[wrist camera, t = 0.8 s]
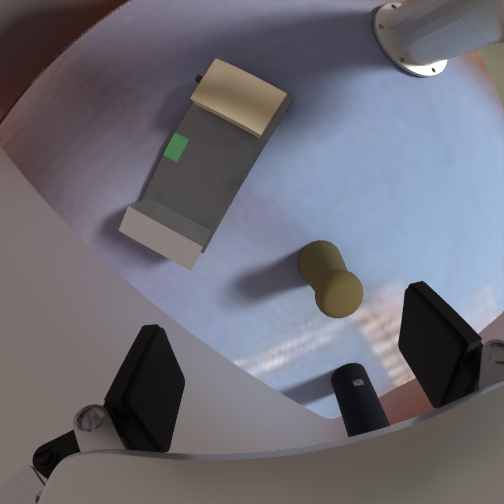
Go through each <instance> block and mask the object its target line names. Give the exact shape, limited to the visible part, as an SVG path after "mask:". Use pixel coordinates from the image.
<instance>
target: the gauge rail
mask: <svg viewBox="0 0 504 504" xmlns="http://www.w3.org/2000/svg"><path fill="white" fill-rule="evenodd" d="M220 60H221V59H220ZM222 61H223V60H222ZM224 62H226V61H224ZM226 63H228V62H226ZM228 64H230V63H228ZM230 65H232V64H230ZM233 66H234V65H233ZM235 67H236V66H235ZM237 68H239V67H237ZM239 69H241V68H239ZM241 70H243V69H241ZM243 71H245V70H243ZM245 72H247V71H245ZM247 73H249V72H247ZM249 74H251V73H249ZM251 75H253V74H251ZM253 76H255V75H253ZM255 77H257V76H255ZM257 78H259V77H257ZM259 79H261V78H259ZM261 80H263V79H261ZM263 81H265V80H263ZM265 82H266V81H265ZM267 83H268V82H267ZM269 84H270V83H269ZM270 85H272V84H270ZM272 86H274V85H272ZM274 87H276V86H274ZM276 88H277V87H276ZM278 89H279V88H278ZM280 90H281V89H280ZM281 91H283V90H281ZM283 92H285V91H283ZM285 93H286V92H285ZM294 98H295V97H293V96H292V95H290V94H288V93H287V95H286V96H285V98H284V99H283V101H282V102H281V104H280V106H279V107H278V109H277V110H276V112H275V114H274V115H273V117H272V118H271V120H270V122H269V123H268V125H267V126H266V128H265V130H264V131H263V133H262V135H261V136H260V138H258V137H257V136H255V135H253V134H251V133H249V132H248V131H246V130H244V129H242V128H240V127H238V126H236V125H235V124H233V123H231V122H229V121H227V120H225V119H223V118H221V117H219V116H217V115H215V114H213V113H211V112H209V111H207V110H205V109H203V108H201V107H199V106H198V105H197V104H195V103H194V102H192V104H191V106H190V107H189V109H188V111H187V112H186V114H185V116H184V118H183V119H182V121H181V123H180V125H179V127H178V128H177V130H176V132H175V133H174V135H173V137H172V139H171V141H170V142H169V144H168V146H167V148H166V150H165V152H164V154H163V157H162V159H161V161H160V163H159V165H158V167H157V169H156V171H155V173H154V175H153V177H152V179H151V181H150V183H149V186H148V188H147V190H146V192H145V194H144V197H143V199H142V200H140V201H138V202H136V203H134V204H132V205H129V206H128V208H127V210H126V213H125V215H124V218H123V220H122V223H121V226H120V228H119V231H120V232H122V233H123V234H125V235H127V236H129V237H130V238H132V239H134V240H136V241H138V242H139V243H141V244H143V245H145V246H146V247H148V248H150V249H152V250H154V251H155V252H157V253H159V254H161V255H163V256H165V257H166V258H168V259H170V260H172V261H174V262H176V263H177V264H179V265H181V266H183V267H185V268H187V269H189V270H191V269H192V267H193V265H194V263H195V261H196V259H197V258H198V256H199V254H200V252H202V253H204V251H205V249H206V247H207V246H208V244H209V242H210V240H211V238H212V237H213V235H214V233H215V231H216V229H217V227H218V226H219V224H220V222H221V220H222V219H223V217H224V215H225V213H226V211H227V210H228V208H229V206H230V204H231V203H232V201H233V199H234V197H235V196H236V194H237V192H238V190H239V189H240V187H241V185H242V183H243V182H244V180H245V178H246V177H247V175H248V173H249V172H250V170H251V168H252V166H253V165H254V163H255V161H256V160H257V158H258V156H259V155H260V153H261V151H262V150H263V148H264V146H265V145H266V143H267V141H268V140H269V138H270V137H271V135H272V133H273V132H274V130H275V128H276V127H277V125H278V124H279V122H280V120H281V119H282V117H283V116H284V114H285V112H286V111H287V109H288V108H289V106H290V104H291V103H292V101H293V100H294Z"/></svg>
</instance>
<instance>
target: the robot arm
mask: <svg viewBox="0 0 504 504" xmlns="http://www.w3.org/2000/svg"><path fill="white" fill-rule="evenodd" d="M373 26H374V31H375V35H376V37H377V40H378V42H379V44H380V45H381V47H382V49H383V50H384V51H385V53H386V54H387V55H388V56H389V57H390V58H391V60H392V61H393V62H395V63H396V64H397V65H398V66H399V67H401V68H402V69H404V70H405V71H407V72H409V73H411V74H413V75H416V76H420V77H431V76H434V75H437V74H439V73H440V72H441V71H442V70H443V69H444V68H445V65H446V63H447V60H448V59H450V58H453V57H456V56H459V55H462V54H466V53H469V52H472V51H475V50H479V49H482V48H485V47H489V46H492V45H496V44H500V43H504V0H406V1H405V2H404V3H403V4H402V3H389V4H386V5H384V6H382V7H381V8H380V9H379V10H378V11H377V13H376V14H375V17H374V25H373ZM481 339H482V338H481V337H480V336H479V335H478V334H477V333H476V332H475V331H474V330H473V329H472V327H471V326H470V325H469V324H468V323H467V322H466V321H465V320H464V319H463V318H462V317H461V316H460V315H459V314H458V313H457V312H456V311H455V310H454V309H453V308H452V307H451V306H450V305H448V304H447V303H446V302H445V301H444V300H443V299H442V298H441V297H440V296H439V295H438V294H437V293H436V292H435V291H434V290H433V289H432V288H430V287H429V286H428V285H427V284H426V283H425V282H423V281H420V282H416V283H412V284H410V285H409V286H408V288H407V289H406V290H405V295H404V305H403V313H402V321H401V328H400V335H399V341H398V346H399V350H400V352H401V353H402V355H403V357H404V358H405V360H406V362H407V363H408V365H409V366H410V368H411V370H412V371H413V373H414V375H415V376H416V378H417V380H418V381H419V383H420V385H421V387H422V388H423V390H424V392H425V394H426V395H427V397H428V399H429V400H430V402H431V404H432V406H433V407H434V408H437V409H435V410H432V411H430V412H427V413H425V414H422V415H420V416H417V417H415V418H412V419H409V420H406V421H403V422H400V423H397V424H395V425H392V426H388V427H385V428H382V429H378V430H375V431H371V432H368V433H364V434H360V435H356V436H352V437H348V438H344V439H340V440H335V441H330V442H326V443H320V444H315V445H309V446H303V447H297V448H290V449H282V450H274V451H264V452H251V453H235V454H181V453H165V452H168V451H169V449H170V445H171V440H172V436H173V432H174V428H175V423H176V419H177V415H178V411H179V407H180V403H181V398H182V394H183V390H184V386H185V379H184V376H183V373H182V371H181V369H180V367H179V364H178V362H177V360H176V357H175V355H174V353H173V350H172V348H171V345H170V343H169V341H168V338H167V335H166V333H165V330H164V329H163V328H160V327H159V325H157V324H154V325H144V326H143V327H142V328H141V330H140V332H139V334H138V335H137V337H136V339H135V341H134V343H133V345H132V347H131V348H130V350H129V352H128V354H127V356H126V358H125V360H124V361H123V363H122V365H121V367H120V369H119V371H118V373H117V375H116V377H115V379H114V381H113V383H112V385H111V387H110V389H109V391H108V393H107V395H106V397H105V399H104V400H105V403H104V405H103V406H101V405H97V404H95V405H89V406H86V407H84V408H82V409H81V410H80V411H79V412H78V413H77V414H76V416H75V417H74V420H73V428H74V430H72V431H70V432H68V433H66V434H64V435H62V436H60V437H58V438H56V439H54V440H52V441H50V442H48V443H46V444H44V445H42V446H40V447H39V448H38V449H37V450H36V452H35V453H34V455H33V465H32V466H31V465H30V464H28V465H26V466H25V467H24V468H23V469H22V470H21V471H19V472H18V473H17V474H16V475H15V476H13V477H12V478H11V479H10V480H9V481H8V482H6V483H5V484H4V485H3V486H2V488H1V490H0V498H1V502H2V504H504V341H503V340H499V339H494V340H490V341H488V342H486V343H485V344H484V345H483V344H482V343H481Z"/></svg>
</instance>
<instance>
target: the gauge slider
mask: <svg viewBox="0 0 504 504" xmlns="http://www.w3.org/2000/svg"><path fill="white" fill-rule="evenodd" d="M195 80H196V81H197V83H198V86H197V88H196V89H195V91H194V92H193V94H192V96H191V97H190V99H191V100H192V101H193V102H194V103H195V104H197V105H198V106H199V107H201V108H203V109H205V110H207V111H209V112H211V113H213V114H215V115H217V116H219V117H221V118H223V119H225V120H227V121H229V122H231V123H233V124H235V125H236V126H238V127H240V128H242V129H244V130H246V131H248V132H249V133H251V134H253V135H255V136H257V137H258V138H260V136H261V135H262V133H263V131H264V130H265V128H266V126H267V125H268V123H269V122H270V120H271V118H272V117H273V115H274V114H275V112H276V110H277V109H278V107H279V106H280V104H281V102H282V101H283V99H284V98H285V96H286V95H287V93H285V92H283V91H281V90H280V89H278V88H276V87H274V86H272V85H270V84H269V83H267V82H265V81H263V80H261V79H259V78H257V77H255V76H253V75H251V74H249V73H247V72H245V71H243V70H241V69H239V68H237V67H235V66H233V65H230V64H228V63H226V62H224V61H222V60H219V59H217V58H216V59H215V60H214V62H213V63H212V65H211V66H210V67H209V69H208V71H207V72H206V74H205V75H204V77H202V76H200V75H197V77H196V78H195Z"/></svg>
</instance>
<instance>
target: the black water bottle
mask: <svg viewBox="0 0 504 504" xmlns="http://www.w3.org/2000/svg"><path fill="white" fill-rule="evenodd" d="M331 381H332V385H333V388H334V392H335V395H336V398H337V401H338V404H339V408H340V411H341V414H342V417H343V421H344V424H345V427H346V430H347V434H348V437H352V436H356V435H360V434H364V433H368V432H371V431H375V430H378V429H382V428H385V427H388V426H390V424H389V422H388V419H387V417H386V415H385V412H384V410H383V408H382V406H381V403H380V401H379V399H378V397H377V394H376V392H375V390H374V388H373V386H372V384H371V381H370V379H369V377H368V375H367V373H366V371H365V369H364V367H363V366H362V365H361V364H357V363H350V364H347V365H344V366H342V367H340V368H339V369H338V370H337V371H335V373H334V374H333V376H332V379H331Z"/></svg>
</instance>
